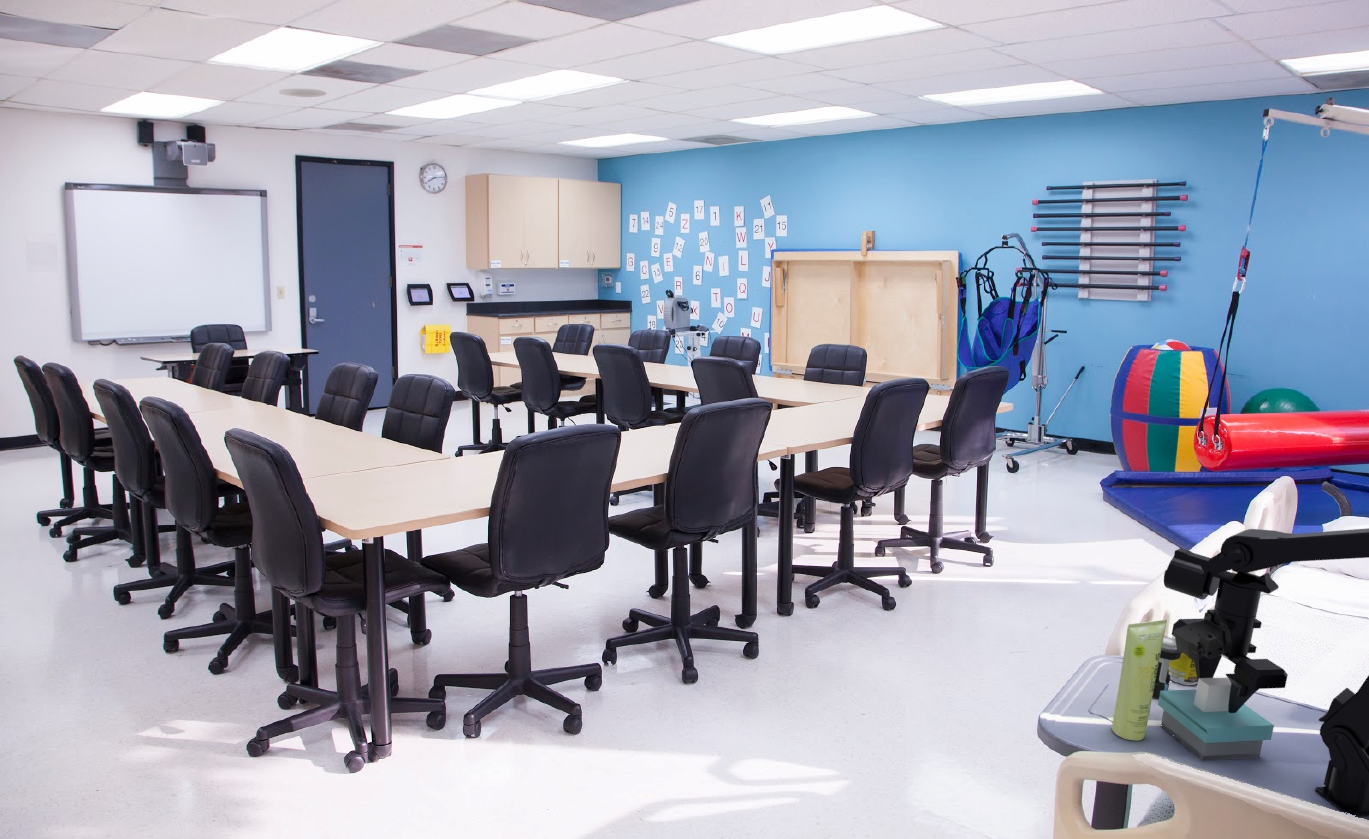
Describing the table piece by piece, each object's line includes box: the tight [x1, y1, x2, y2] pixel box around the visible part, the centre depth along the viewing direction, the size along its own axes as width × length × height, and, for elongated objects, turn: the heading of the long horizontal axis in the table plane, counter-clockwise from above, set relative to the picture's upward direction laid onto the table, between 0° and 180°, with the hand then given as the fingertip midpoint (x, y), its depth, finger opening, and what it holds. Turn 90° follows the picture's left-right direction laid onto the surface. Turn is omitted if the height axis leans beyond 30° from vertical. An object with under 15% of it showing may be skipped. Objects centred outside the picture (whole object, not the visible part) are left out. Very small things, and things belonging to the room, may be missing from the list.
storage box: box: [1160, 709, 1264, 762], centre depth 156 cm, size 10×10×5 cm
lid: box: [1157, 676, 1275, 743], centre depth 155 cm, size 11×11×7 cm
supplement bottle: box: [1168, 635, 1198, 686], centre depth 177 cm, size 6×6×10 cm
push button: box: [1152, 635, 1183, 700], centre depth 171 cm, size 7×5×10 cm
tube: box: [1111, 618, 1167, 741], centre depth 155 cm, size 6×5×20 cm
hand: (1216, 701), depth 155 cm, fingers open, 6 cm apart
